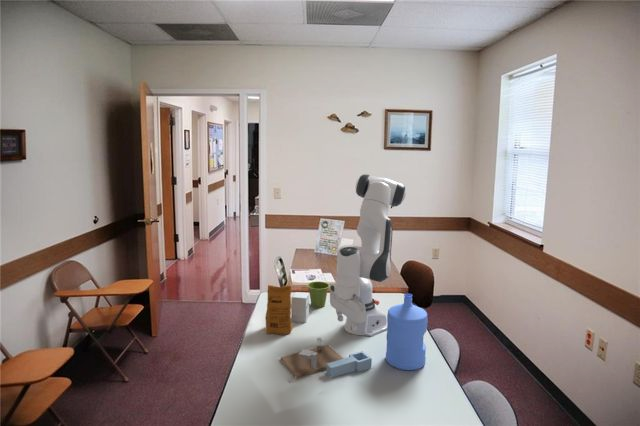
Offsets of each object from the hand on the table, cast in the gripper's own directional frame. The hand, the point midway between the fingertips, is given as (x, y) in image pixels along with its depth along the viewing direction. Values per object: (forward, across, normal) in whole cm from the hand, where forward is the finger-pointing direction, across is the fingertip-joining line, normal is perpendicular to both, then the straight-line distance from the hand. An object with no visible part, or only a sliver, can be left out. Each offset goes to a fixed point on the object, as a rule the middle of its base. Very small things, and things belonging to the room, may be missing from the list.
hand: (346, 325), depth 164 cm
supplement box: (+18, +49, -5) cm, 53 cm away
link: (+18, 0, -1) cm, 18 cm away
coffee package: (+18, +43, +9) cm, 48 cm away
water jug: (+18, -6, -25) cm, 31 cm away
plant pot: (+18, +60, -21) cm, 66 cm away
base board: (+18, +11, +8) cm, 23 cm away
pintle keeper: (+17, +10, +9) cm, 22 cm away
